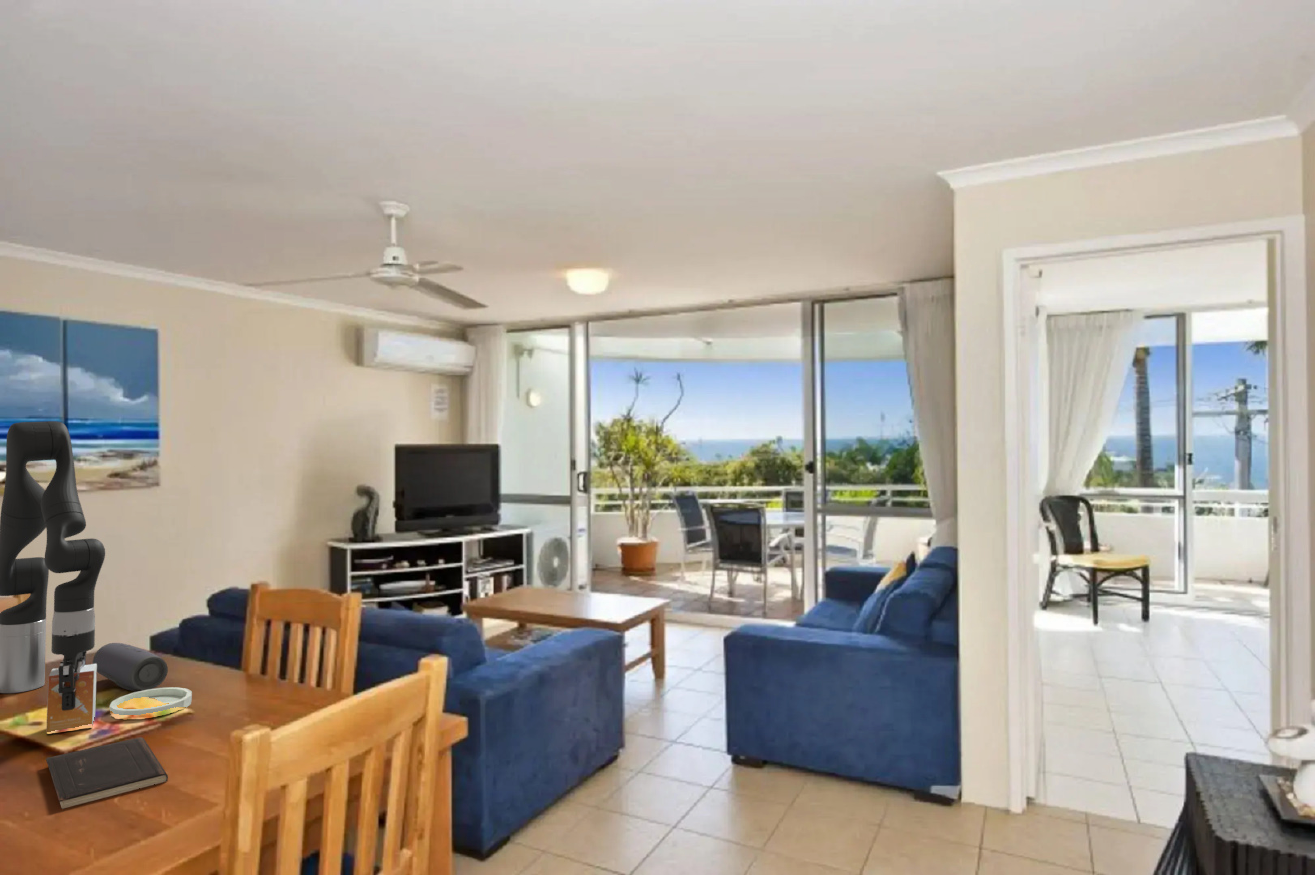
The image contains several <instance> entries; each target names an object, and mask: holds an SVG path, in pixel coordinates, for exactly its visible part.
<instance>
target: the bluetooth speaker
mask: <svg viewBox="0 0 1315 875" xmlns="http://www.w3.org/2000/svg"><path fill="white" fill-rule="evenodd" d="M92 664H97V672H96V673H98V674H99V675H101V676H103V677H104V678H106V679H107V680H110V681H112V682H114V683H115V685H116V686H118V687H119V688H122V689H125V690H127V691H130V692H137V691H143V690H148V689H156V688H158V686H160V685H162V683H163V682H164V680H166V677H167V676H168V672H169V669H168V664H167V663H166V661H165V659H163V658H161V657H160V656H159V655H157V654H155V653H153V652H150V651H149V650H148V651H147V650H145V649H142V648H140V647H138V646H133V645H130V644H127V643H120V642H110V643H106V644H105V645H103V646H101V647H100V648H98V650H97V651H96V652H95V654H94V656H93V659H92Z"/></svg>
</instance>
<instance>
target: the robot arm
mask: <svg viewBox="0 0 1315 875" xmlns="http://www.w3.org/2000/svg"><path fill="white" fill-rule="evenodd" d="M6 434H7V435H6V443H5V444H6V445H5V449H6V450H5V453H6V454H5V455H6V456H5V482H4V488H3V489H4V490H3V496H2V501H1V502H2V503H1V508H0V597H12V596H22V595H29V597H27V598H26V599H25V600H23V601H21V602H20V603H18V604H16V605H13V606H10V607H9V608H6V609H4V610H2V611H0V694H15V693H16V694H17V693H23V692H28V691H32V690H36V689H38V688H41V687H43V686H44V685H45V684H46V683H45V682H46V679H45V678H46V650H47V649H46V645H47V644H46V641H47V640H46V639H47V598H48V595H47V594H48V585H49V578H50V577H49V576H50V575H49V574H50V572H51V573H55V574H64V573H73V572H79V573H78V575H77V576H76V577H75V578H74V579H71V580H69V581H66V582H63V583H61V584H58V585H56V587H55V588H54V595H53V600H54V601H53V615H52V621H51V622H52V623H51V653H52V654H54V655H57V656H58V655H61V656H63V658H62V661H60V662H59V666H58V667H57V668H58V670H59V690H58V692H59V693H61V694H62V710H63V711H65V710H72V709H74V708H75V691H76V682H77V681H78V680H79V674H80V671H81V668H82V667H84V666H85V665H87V664H86V663H87V662H86V660H87V659H86V658H87V652H88V651H90V650H92V649H94V648H95V640H96V638H95V636H96V633H95V631H96V614H95V590H96V589H95V588H96V585H97V581H98V579H99V576H100V575H99V574H100V573H101V569H102V568H103V564H104V562H105V558H106V548H105V545H104V544H103V542H102V541H101V540H100V539H97V538H83V539H71V540H66V539H68V538H71V537H74V536H77V535H79V534H81V533H82V532H84V530H85V529H86V527H87V521H86V517H85V514H84V511H83V508H82V505H81V501H80V498H79V494H78V488H77V487H78V486H77V481H76V480H77V478H76V469H75V468H76V467H75V460H74V455H73V454H74V453H73V446H72V439H71V435H70V432H69V429H68V428H67V426H66V425H65V423H63V422H61V421H54V420H53V421H51V420H50V421H49V420H47V421H46V420H45V421H22V422H15V423H12V424H11V425H10V426H9V428H8V430H7V433H6ZM53 460H54V461H55V464H56V465H55V466H56V467H55V471H54V474H53V476H52V478H51V480H50V481H49V484H47V486H46V488H45V489H44V488H43V486H41V485H40V484H39V482H37V481H36V480H35V479H34V477H33V476H32V475H31V473H30V472H29V470H28V469H27V463H29V462H39V461H40V462H41V461H53ZM45 530H46V545H45V546H46V547H45V552H44V557H41V556H38V557H24V558H21V557H20V558H17V557H18V556H19V554H20V553H21V552H22V551H23V549H25V548H26V547H27V546H28V545H29V544H31V543H32V542H33V541H34V540H35V539H36V538H38V536H40V535H41V534H42V533H43V532H44V531H45ZM75 672H77V673H78V674H77V675H76V676H75V677H74V673H75ZM65 682H70V686H68V687H65Z"/></svg>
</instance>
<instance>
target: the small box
mask: <svg viewBox="0 0 1315 875" xmlns="http://www.w3.org/2000/svg"><path fill="white" fill-rule="evenodd" d="M58 668H59V667H57V668H56V667H55V668H52V669H51V671H50V673H49V675H48V678H47V679H48V680H47V681H48V682H47V702H46V704H47V705H46V732H51V731H55V730H62V729H67V728H75V727H79V726H82V725H88V724H93V721H94V722H95V720H94V717H95V718H96V704H97V703H96V698H97V673H98V672H97V664H93V663H91V664H86V665H85V666H84V667H82V668H81V671H80V674H79V680H78V681H77V682H76V691H75V708H74V709H72V710H65V711H63V710H62V694H61V693H59V692H58V690H59V670H58ZM77 674H78V673H77V672H75V673H74V677H75V676H76V675H77ZM68 686H70V682H65V687H68ZM93 725H94V724H93Z"/></svg>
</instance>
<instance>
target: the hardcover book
mask: <svg viewBox="0 0 1315 875" xmlns="http://www.w3.org/2000/svg"><path fill="white" fill-rule="evenodd" d="M45 760H46V764H47V767H48V770H49V773H50V776H51V780H52V784H53V786H54V789H55V793H56V796H57V799H58V802H59V804H60V808H61V809H62V810H64V809H66V808H71V807H75V806H78V805H82V804H85V803H90V802H94V801H97V800H100V799H101V800H102V799H105V798H108V797H112V796H116V795H121V794H124V793H128V792H132V791H135V790H139V788H140V789H144V788H147V787H151V786H155V785H158V784H159V785H160V784H161V783H167V782H168V781H169V778H168V777H169V776H168V775H169V774H167V772H166V771H165V769H164V767H163V766H162V765H161V763H160V761H159V759H158V758H157V757H156V755H155V754H154V752H153V751H152V749H151V747H150V746H149V744H148V743H147V741H146V739H145V738H144V737H141V736H140V737H134V738H130V739H126V740H122V741H117V742H113V743H108V744H103V745H99V746H94V747H90V748H85V749H81V750H77V751H72V752H71V751H70V752H67V753H63V754H59V755H54V756H49V757H46V758H45ZM166 781H167V782H166ZM154 784H155V785H154Z"/></svg>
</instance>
